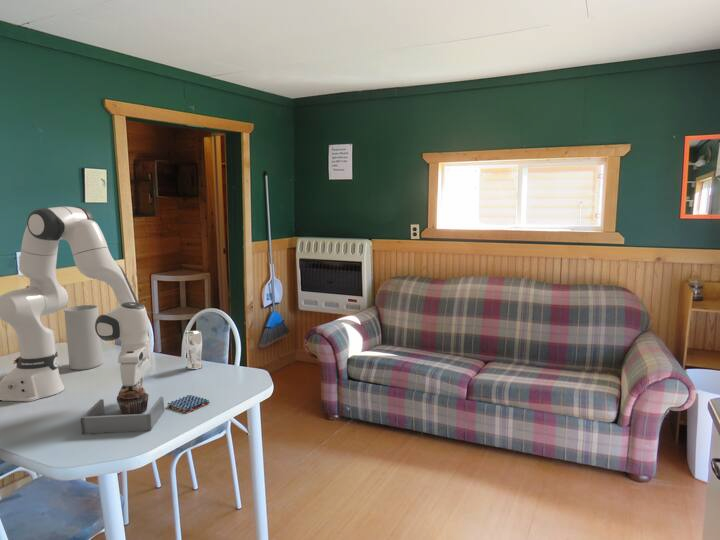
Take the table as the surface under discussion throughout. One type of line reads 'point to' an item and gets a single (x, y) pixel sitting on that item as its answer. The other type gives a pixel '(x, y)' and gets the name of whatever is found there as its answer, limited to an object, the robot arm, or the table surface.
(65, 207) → the robot arm
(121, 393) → the cupcake
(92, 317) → the cylinder vase
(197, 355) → the beer glass
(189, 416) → the table surface
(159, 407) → the box
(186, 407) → the woven mat
